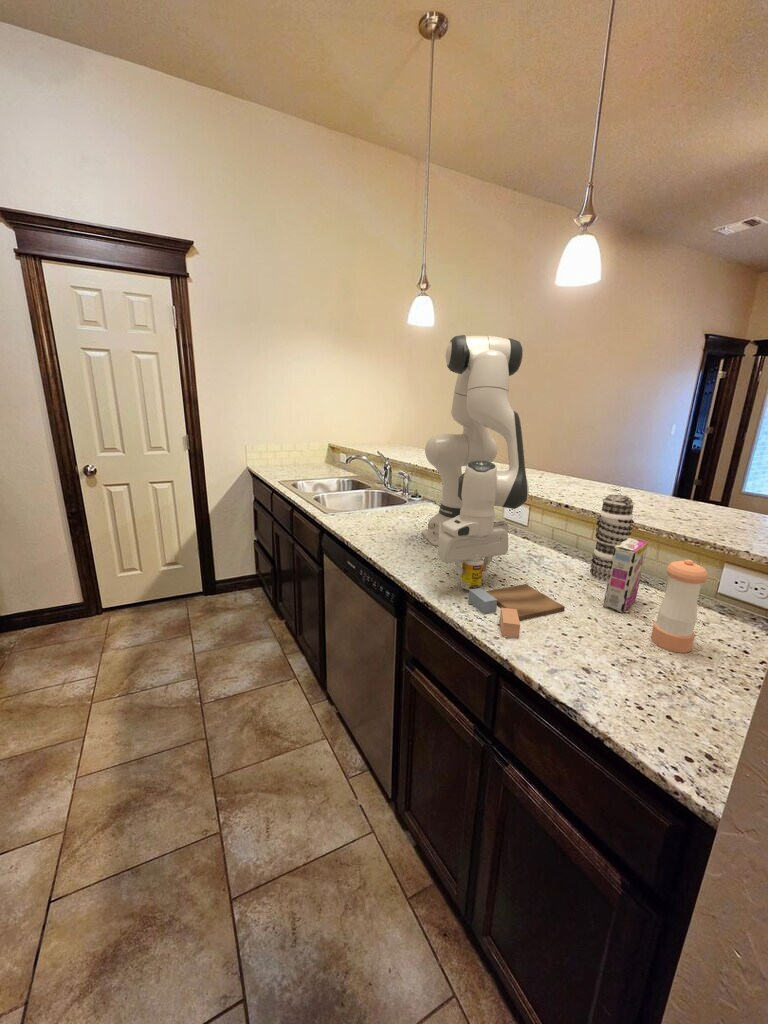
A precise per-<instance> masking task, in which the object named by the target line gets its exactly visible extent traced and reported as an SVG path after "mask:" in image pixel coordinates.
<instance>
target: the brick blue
mask: <svg viewBox="0 0 768 1024" xmlns="http://www.w3.org/2000/svg"><path fill="white" fill-rule="evenodd" d="M486 591H487V590H485V589H483V588H482V587H481V588H477V589H471V590H468V603H470V604H471V605H472V606H473V607H474V608H475V609H477V610H478V611H479V612H480V613H482V615H488V614H494V613H497V607H498V606H497V599H496V598H494V597H493V596H491V595H490V594H489V593H487V592H486Z"/></svg>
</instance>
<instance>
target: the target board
mask: <svg viewBox="0 0 768 1024" xmlns="http://www.w3.org/2000/svg"><path fill="white" fill-rule="evenodd" d="M485 591H486V592H487V593H489V594H490V595H491V596H493V597H494V598H496V599H497V607H499V608H500V609H501V608H509V609H517V613H518V617H519V621H520V622H521V621H525V620H530V619H534V618H538V617H542V616H543V617H544V616H548V615H552V614H557V613H561V612H565V609H566V607H565V605H564V604H563V605H562V604H561V603H559V602H558V601H556V600H554V599H552V598H550V597H549V596H547V594H544V593H542V592H541V591H539V590H537V589H535V588H534V587H532V586H530V585H529V584H527V583H523V584H518V585H511V586H507V587H500V588H495V589H490V590H489V589H488V590H485Z"/></svg>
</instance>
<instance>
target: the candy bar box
mask: <svg viewBox="0 0 768 1024" xmlns="http://www.w3.org/2000/svg"><path fill="white" fill-rule="evenodd" d="M627 538H628V539H626V540H624V541H623V542H621V543H620V544H618V545H616V546H615V547H614V553H613V558H612V563H611V568H610V573H609V579H608V584H606V589H605V594H604V595H605V596H604V600H603V604H602V606H603V607H604V608H606V609H609V610H611V611H613V612H614V611H615V612H617V613H621V614H623V613H625V612H626V611H627V609H629V608H630V606H632V604H633V603H634V602H635V601H636V600H637V596H638V591H639V587H640V581H641V576H642V572H643V569H644V568H643V567H644V563H645V559H646V555H647V549H648V545H649V542H647V541H644V540H640V539H636V538H631V537H627Z"/></svg>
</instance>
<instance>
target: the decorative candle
mask: <svg viewBox="0 0 768 1024" xmlns="http://www.w3.org/2000/svg"><path fill="white" fill-rule="evenodd" d="M634 505H636V503H635V502H633V499H632V498H631V497H630V496H628V495H623V494H609V495H607V496H606V497H605V498H602V508H601V510H600V513H599V515H598V516H597V518H596V519H597V521H596V525H597V527H596V529H595V531H596V532H595V534H594V536H595V538H594V539H595V541H596V543H595V547H594V549H593V550H594V551H593V554H592V555H591V556H592V559H591V562H592V563H591V564H590V569H589V575H588V576H589V579H591V580H592V581H595V582H597V583H599V584H604V585H607V584H608V579H609V573H610V568H611V563H612V558H613V553H614V547H615V546H616V545H618V544H620V543H621V542H623V541H624V540H626V539H628V538H629V536H631V535H632V532H630V531H632V530H633V527H632V526H631V525H632V524H634V523H635V521H634V520H633V518H634V517H633V509H634ZM630 524H631V525H630Z"/></svg>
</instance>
